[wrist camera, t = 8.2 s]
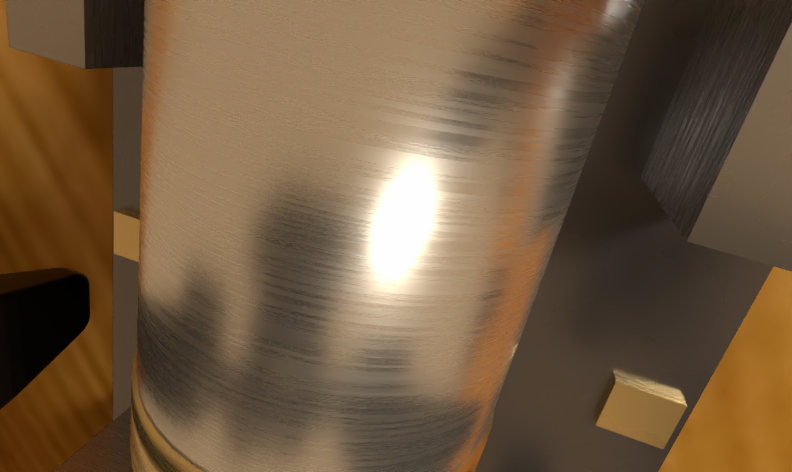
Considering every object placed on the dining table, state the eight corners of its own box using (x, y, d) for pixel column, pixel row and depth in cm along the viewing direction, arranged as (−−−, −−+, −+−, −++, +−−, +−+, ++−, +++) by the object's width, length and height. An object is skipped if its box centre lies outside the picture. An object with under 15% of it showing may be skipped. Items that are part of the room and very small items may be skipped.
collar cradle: (964, -125, 6) (1389, -304, 3) (534, 665, 13) (529, 871, 10) (141, -251, 9) (-114, -438, 5) (128, 484, 15) (12, 604, 12)
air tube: (690, -150, 6) (945, -643, 2) (409, 626, 13) (311, 947, 8) (328, -200, 8) (-49, -584, 3) (231, 533, 14) (57, 768, 9)
